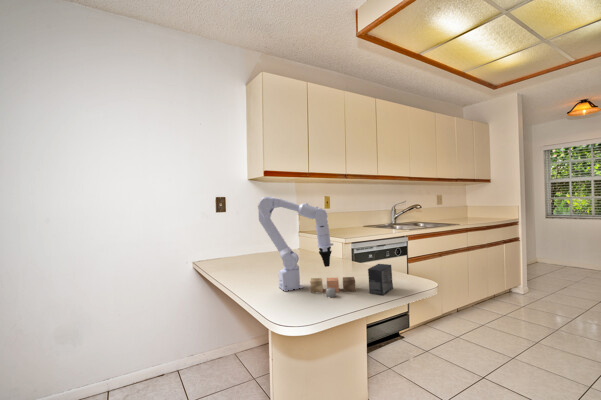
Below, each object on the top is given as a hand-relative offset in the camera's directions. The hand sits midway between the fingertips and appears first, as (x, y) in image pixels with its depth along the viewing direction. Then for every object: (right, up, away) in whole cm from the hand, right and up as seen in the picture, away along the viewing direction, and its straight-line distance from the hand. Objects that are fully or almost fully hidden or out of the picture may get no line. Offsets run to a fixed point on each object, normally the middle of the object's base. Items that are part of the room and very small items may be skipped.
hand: (326, 264), depth 135 cm
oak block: (-5, -11, -5) cm, 13 cm away
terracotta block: (+2, -10, -6) cm, 12 cm away
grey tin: (0, -10, -13) cm, 17 cm away
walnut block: (+9, -10, -7) cm, 15 cm away
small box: (+22, -9, -10) cm, 26 cm away
